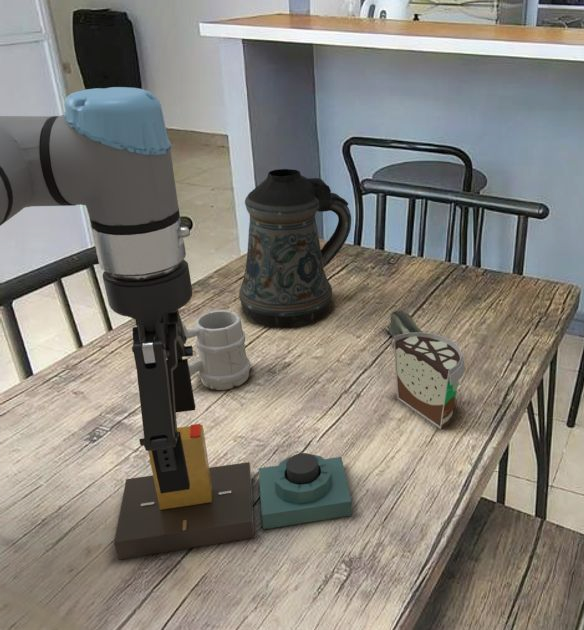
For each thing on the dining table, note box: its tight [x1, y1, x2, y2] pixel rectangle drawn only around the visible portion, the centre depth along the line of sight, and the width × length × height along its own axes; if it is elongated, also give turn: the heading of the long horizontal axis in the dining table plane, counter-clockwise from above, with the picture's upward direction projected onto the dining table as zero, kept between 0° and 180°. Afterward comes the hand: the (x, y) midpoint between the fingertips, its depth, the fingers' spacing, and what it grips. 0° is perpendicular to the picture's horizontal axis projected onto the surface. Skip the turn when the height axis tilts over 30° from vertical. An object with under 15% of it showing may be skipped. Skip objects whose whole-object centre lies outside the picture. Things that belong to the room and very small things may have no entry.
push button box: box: [258, 454, 353, 530], centre depth 80 cm, size 10×8×4 cm
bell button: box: [286, 452, 319, 485], centre depth 78 cm, size 4×4×2 cm
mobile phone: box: [385, 310, 424, 338], centre depth 110 cm, size 5×3×15 cm
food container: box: [391, 331, 466, 430], centre depth 96 cm, size 12×6×10 cm, turn 41°
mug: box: [166, 309, 251, 391], centre depth 99 cm, size 8×12×12 cm, turn 127°
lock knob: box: [147, 423, 212, 510], centre depth 74 cm, size 6×2×9 cm, turn 104°
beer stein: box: [238, 168, 352, 329], centre depth 119 cm, size 16×19×25 cm
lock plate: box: [113, 461, 255, 560], centre depth 77 cm, size 14×10×3 cm
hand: (179, 446), depth 73 cm, fingers open, 13 cm apart
